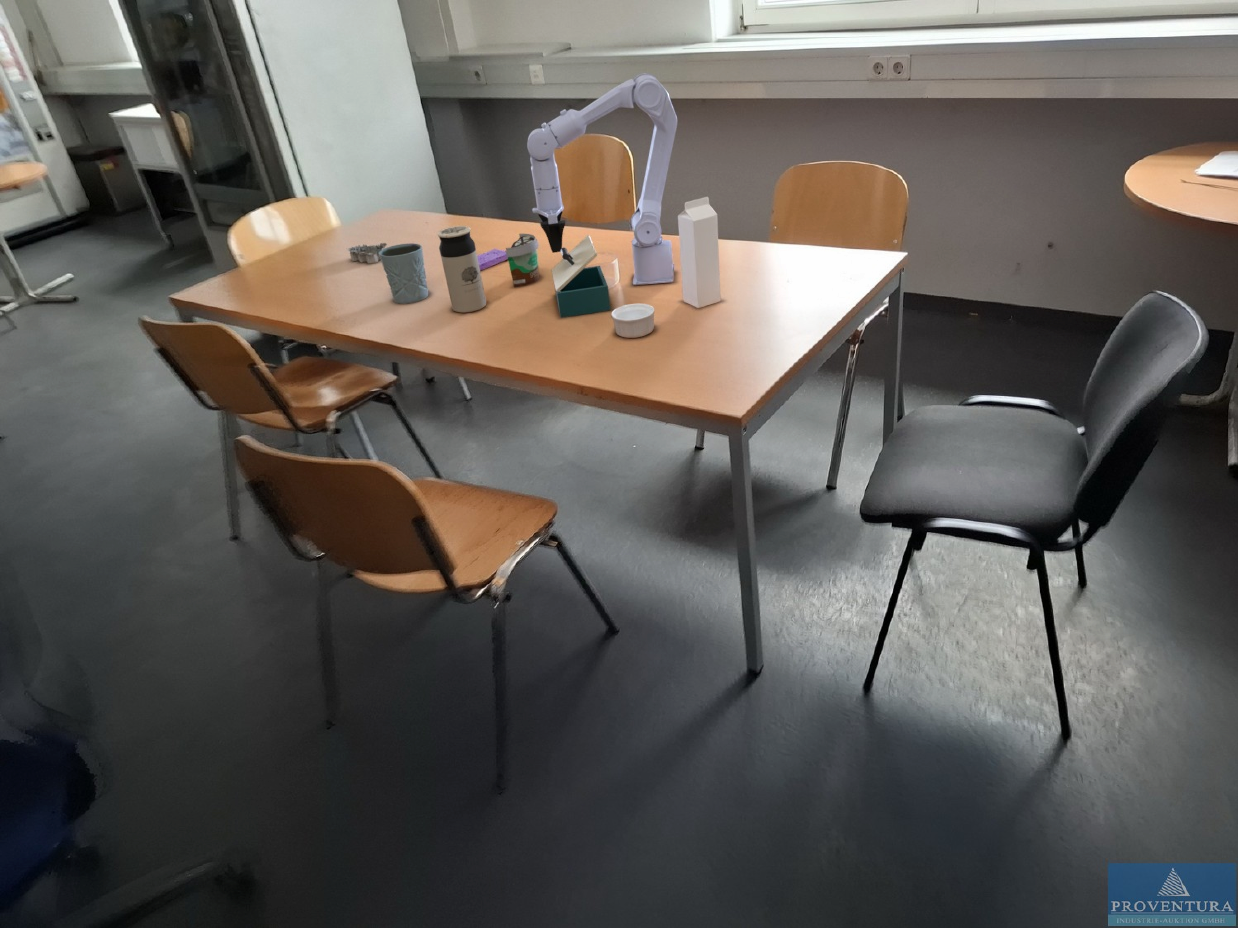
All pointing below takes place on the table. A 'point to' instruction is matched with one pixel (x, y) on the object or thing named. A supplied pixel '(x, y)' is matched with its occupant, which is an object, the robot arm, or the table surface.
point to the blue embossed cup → (405, 272)
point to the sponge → (491, 258)
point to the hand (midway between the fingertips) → (555, 247)
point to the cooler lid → (573, 262)
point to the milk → (699, 253)
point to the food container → (523, 260)
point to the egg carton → (366, 253)
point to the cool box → (584, 294)
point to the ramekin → (633, 320)
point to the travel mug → (461, 269)
